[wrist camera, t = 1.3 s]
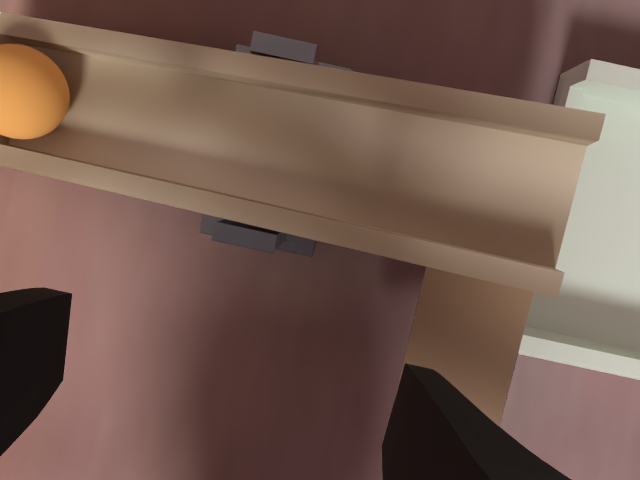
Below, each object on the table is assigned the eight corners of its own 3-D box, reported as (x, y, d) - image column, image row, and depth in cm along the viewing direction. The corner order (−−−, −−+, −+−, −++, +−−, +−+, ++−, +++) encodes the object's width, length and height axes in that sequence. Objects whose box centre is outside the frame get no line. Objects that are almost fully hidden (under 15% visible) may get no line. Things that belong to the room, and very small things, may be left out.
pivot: (312, 254, 21) (308, 270, 17) (203, 231, 21) (173, 241, 17) (351, 72, 21) (357, 42, 17) (239, 48, 21) (216, 12, 17)
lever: (499, 462, 17) (506, 493, 15) (-17, 306, 21) (-63, 315, 19) (585, 126, 16) (606, 113, 14) (27, 28, 20) (-17, 8, 18)
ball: (81, 152, 19) (7, 139, 16) (15, 137, 20) (-66, 122, 17) (96, 65, 19) (23, 36, 16) (28, 54, 19) (-52, 24, 17)
